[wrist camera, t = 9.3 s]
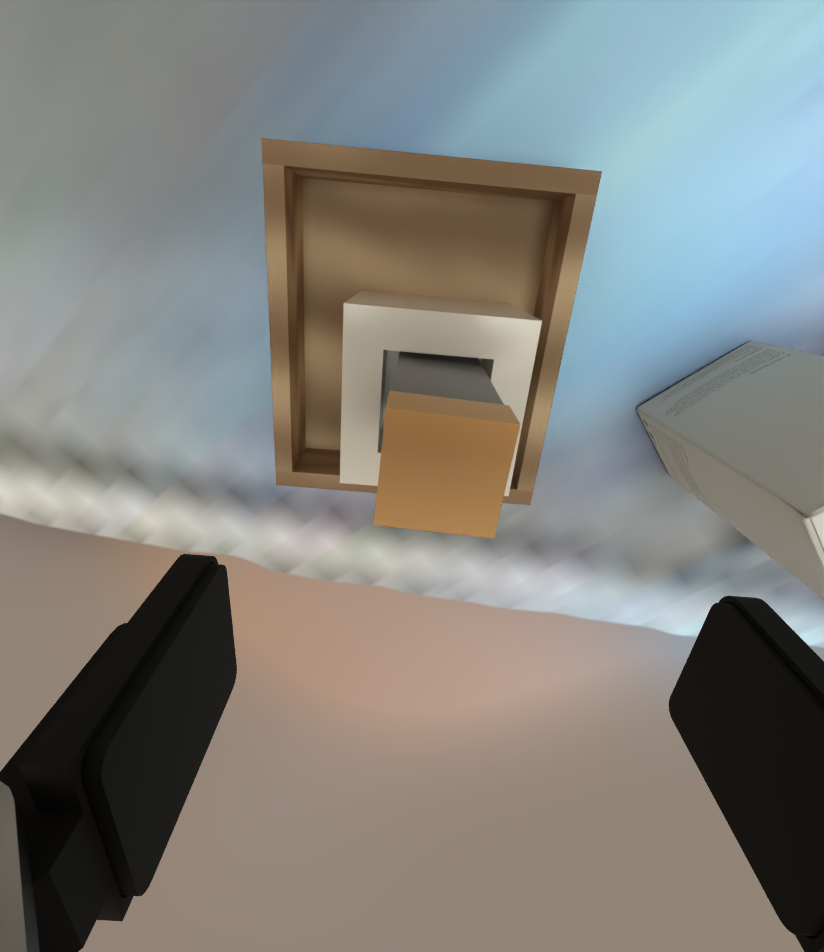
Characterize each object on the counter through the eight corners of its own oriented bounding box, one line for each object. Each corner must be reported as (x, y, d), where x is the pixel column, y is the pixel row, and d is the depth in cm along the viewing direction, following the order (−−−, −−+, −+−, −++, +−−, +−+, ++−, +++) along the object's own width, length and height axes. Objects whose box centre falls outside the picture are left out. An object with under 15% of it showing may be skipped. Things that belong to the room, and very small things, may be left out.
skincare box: (666, 476, 34) (840, 632, 20) (630, 402, 32) (797, 520, 18) (785, 413, 32) (1072, 539, 18) (755, 329, 30) (1056, 399, 16)
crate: (286, 156, 26) (261, 138, 22) (573, 184, 27) (601, 171, 22) (293, 456, 34) (276, 484, 30) (516, 474, 34) (530, 504, 30)
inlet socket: (362, 290, 29) (343, 303, 21) (510, 303, 29) (542, 320, 22) (357, 431, 32) (339, 483, 25) (488, 442, 33) (508, 496, 25)
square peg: (399, 341, 25) (385, 407, 15) (476, 351, 26) (520, 424, 15) (391, 416, 27) (373, 524, 16) (463, 424, 27) (494, 538, 17)
